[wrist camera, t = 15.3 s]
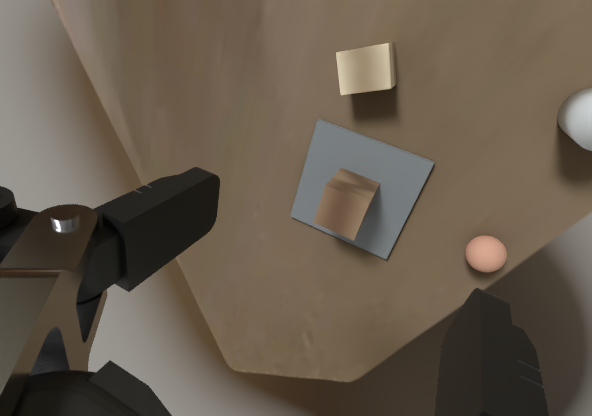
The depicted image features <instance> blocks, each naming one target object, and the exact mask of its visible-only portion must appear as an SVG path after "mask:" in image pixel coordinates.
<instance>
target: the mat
mask: <svg viewBox="0 0 592 416" xmlns="http://www.w3.org/2000/svg"><path fill="white" fill-rule="evenodd" d="M433 165H434V161H431V160H429V159H426V158H423V157H421V156H418V155H415V154H413V153H410V152H407V151H404V150H402V149H399V148H396V147H394V146H391V145H388V144H386V143H383V142H380V141H378V140H375V139H372V138H370V137H367V136H364V135H362V134H359V133H356V132H353V131H351V130H348V129H345V128H343V127H340V126H337V125H335V124H332V123H329V122H327V121H324V120H321V119H318V120H317V123H316V126H315V130H314V133H313V137H312V140H311V144H310V148H309V151H308V155H307V158H306V162H305V165H304V169H303V172H302V176H301V180H300V183H299V187H298V190H297V194H296V197H295V201H294V204H293V208H292V212H291V215H290V216H291V217H293V218H295V219H297V220H299V221H302V222H304V223H306V224H308V225H311V226H313V227H315V228H317V229H319V230H322V231H324V232H326V233H328V234H331V235H333V236H335V237H337V238H339V239H342V240H344V241H346V242H348V243H351V244H353V245H355V246H357V247H359V248H362V249H364V250H366V251H368V252H371V253H373V254H375V255H377V256H379V257H382V258H384V259H387V257H388V255H389V253H390V251H391V249H392V247H393V245H394V243H395V241H396V239H397V237H398V235H399V233H400V231H401V229H402V227H403V225H404V223H405V221H406V219H407V217H408V215H409V213H410V211H411V209H412V207H413V205H414V203H415V201H416V199H417V197H418V195H419V193H420V191H421V189H422V187H423V185H424V183H425V181H426V179H427V177H428V175H429V173H430V171H431V169H432V167H433ZM340 168H343V169H346V170H348V171H351V172H353V173H356V174H358V175H361V176H363V177H366V178H368V179H371V180H373V181H376V182H378V183H380V184H379V187H378V189H377V192H376V194H375V196H374V199H373V201H372V203H371V206H370V208H369V211H368V213H367V215H366V218H365V220H364V222H363V224H362V226H361V227H360V229H359V231H358V233H357V235H356V237H355V239H354V241H353V240H351V239H349V238H347V237H344V236H342V235H340V234H338V233H336V232H333V231H331V230H329V229H327V228H324V227H322V226H320V225H318V224H315V223H313V222H314V219H315V215H316V212H317V209H318V206H319V203H320V200H321V197H322V194H323V191H324V188H325V185H326V184H327V183H328V182H329V181H330V179H331V178H332V177H333V176H334V175H335V174H336V173H337V172H338V170H339V169H340Z"/></svg>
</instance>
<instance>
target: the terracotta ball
mask: <svg viewBox="0 0 592 416" xmlns="http://www.w3.org/2000/svg"><path fill="white" fill-rule="evenodd" d="M465 255H466V259H467V261H468V263H469V264H470V265H471V266H472V267H473V268H475V269H476V270H478V271H481V272H493V271H496V270H498V269H500V268H501V267H502V266H503V265H504V263H505V262H506V258H507V252H506V249H505V246H504V245H503V244H502V243H501V242H500V241H499V240H498V239H496V238H494V237H491V236H479V237H476V238H474V239H472V240H471V241H470V242H469V243H468V245H467V247H466V251H465Z"/></svg>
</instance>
